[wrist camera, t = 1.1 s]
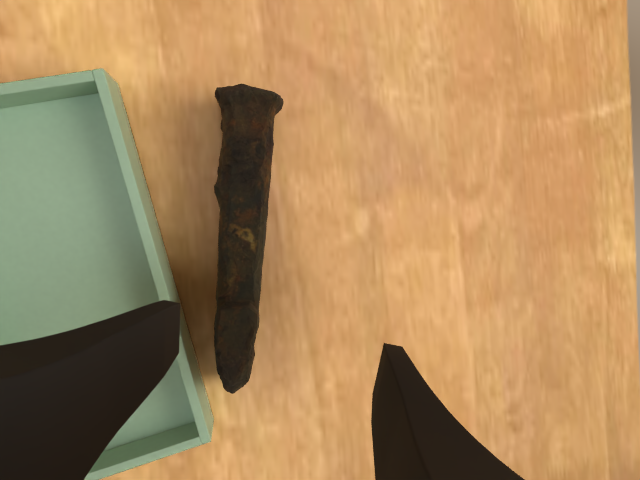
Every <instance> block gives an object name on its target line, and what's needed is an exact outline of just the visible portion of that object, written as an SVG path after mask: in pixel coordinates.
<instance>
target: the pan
mask: <svg viewBox="0 0 640 480" xmlns="http://www.w3.org/2000/svg"><path fill="white" fill-rule="evenodd" d="M162 300H167V301H172V302H178V303H181V302H180V299H179V295H178V292H177V288H176V285H175V281H174V278H173V274H172V271H171V267H170V264H169V260H168V257H167V253H166V250H165V246H164V243H163V239H162V236H161V232H160V229H159V225H158V222H157V218H156V215H155V211H154V208H153V204H152V201H151V197H150V194H149V190H148V187H147V183H146V180H145V176H144V173H143V169H142V166H141V162H140V159H139V155H138V152H137V148H136V145H135V141H134V138H133V134H132V131H131V127H130V124H129V120H128V117H127V113H126V110H125V106H124V103H123V99H122V96H121V92H120V89H119V85H118V83H117V82H116V81H115V80H114V79H113V78H112V77H111V76H110V75H109V74H108V73H107V72H106V71H105V70H104V69H103V68H102V69H95V70H92V71H91V70H89V71H82V72H75V73H69V74H62V75H55V76H48V77H41V78H34V79H28V80H21V81H14V82H7V83H0V345H5V344H11V343H16V342H22V341H27V340H32V339H37V338H41V337H45V336H50V335H54V334H58V333H62V332H66V331H69V330H73V329H76V328H79V327H83V326H86V325H89V324H92V323H95V322H99V321H102V320H105V319H108V318H111V317H114V316H117V315H119V314H122V313H125V312H128V311H131V310H134V309H137V308H139V307H142V306H145V305H148V304H151V303H154V302H158V301H162ZM213 422H214V418H213V414H212V411H211V407H210V404H209V400H208V397H207V393H206V390H205V386H204V383H203V379H202V376H201V372H200V369H199V365H198V362H197V358H196V355H195V351H194V348H193V344H192V341H191V337H190V334H189V330H188V327H187V323H186V320H185V316H184V313H183V309H182V306H180V339H179V354H178V355H177V357H176V359H175V360H174V362H173V364H172V365H171V367H170V368H169V370H168V371H167V373H166V374H165V376H164V377H163V379H162V380H161V381H160V382H159V384H158V385H157V386H156V387H155V388H154V390H153V391H152V392H151V393H150V394H149V396H148V397H147V398H146V399H145V400H144V401H143V403H142V404H141V405H140V406H139V407H138V409H137V410H136V411H135V412H134V413H133V414H132V416H131V417H130V418H129V419H128V420H127V421H126V423H125V424H124V425H123V426H122V427H121V429H120V430H119V431H118V432H117V433H116V435H115V436H114V437H113V439H112V440H111V441H110V442H109V444H108V445H107V447H106V448H105V450H104V451H103V452H102V454H101V455H100V457H99V458H98V460H97V461H96V462H95V464H94V465H93V467H92V468H91V470H90V471H89V473H88V474H87V476H86V477H85V479H84V480H99V479H102V478H105V477H108V476H111V475H114V474H117V473H120V472H123V471H126V470H128V469H131V468H134V467H137V466H140V465H143V464H146V463H149V462H152V461H155V460H158V459H161V458H164V457H167V456H170V455H173V454H176V453H179V452H182V451H185V450H188V449H190V448H193V447H196V446H199V445H201V444H205V443H208V442H211V437H212V430H213Z"/></svg>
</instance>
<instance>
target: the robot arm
mask: <svg viewBox="0 0 640 480" xmlns="http://www.w3.org/2000/svg"><path fill="white" fill-rule="evenodd" d="M180 306H181V303H178V302H172V301H167V300H162V301H158V302H154V303H151V304H148V305H145V306H142V307H139V308H137V309H134V310H131V311H128V312H125V313H122V314H119V315H117V316H114V317H111V318H108V319H105V320H102V321H99V322H95V323H92V324H89V325H86V326H83V327H79V328H76V329H73V330H69V331H66V332H62V333H58V334H54V335H50V336H45V337H41V338H37V339H32V340H27V341H22V342H16V343H11V344H5V345H0V480H84V479H85V477H86V476H87V474H88V473H89V471H90V470H91V468H92V467H93V465H94V464H95V462H96V461H97V460H98V458H99V457H100V455H101V454H102V452H103V451H104V450H105V448H106V447H107V445H108V444H109V442H110V441H111V440H112V439H113V437H114V436H115V435H116V433H117V432H118V431H119V430H120V429H121V427H122V426H123V425H124V424H125V423H126V421H127V420H128V419H129V418H130V417H131V416H132V414H133V413H134V412H135V411H136V410H137V409H138V407H139V406H140V405H141V404H142V403H143V401H144V400H145V399H146V398H147V397H148V396H149V394H150V393H151V392H152V391H153V390H154V388H155V387H156V386H157V385H158V384H159V382H160V381H161V380H162V379H163V377H164V376H165V374H166V373H167V371H168V370H169V368H170V367H171V365H172V364H173V362H174V360H175V359H176V357H177V355H178V354H179V339H180ZM371 423H372V438H373V452H374V465H375V479H376V480H524V479H523V478H522V477H520V476H519V475H518V474H516V473H515V472H514V471H512V470H511V469H510V468H509V467H507V466H506V465H505V464H504V463H502V462H501V461H500V460H499V459H498V458H496V457H495V456H494V455H493V454H492V453H491V452H490V451H488V450H487V449H486V448H485V447H484V446H483V445H482V444H481V443H479V442H478V441H477V440H476V439H475V438H474V437H473V436H472V435H471V434H470V433H469V432H468V431H467V430H466V429H465V428H464V427H463V426H462V425H461V424H460V423H459V422H458V421H457V420H456V419H455V418H454V417H453V415H452V414H451V413H450V412H449V411H448V410H447V409H446V407H445V406H444V405H443V404H442V403H441V401H440V400H439V399H438V398H437V396H436V395H435V394H434V393H433V391H432V390H431V389H430V387H429V386H428V385H427V383H426V382H425V380H424V379H423V378H422V376H421V375H420V373H419V372H418V370H417V369H416V367H415V366H414V364H413V363H412V361H411V359H410V358H409V356H408V355H407V353H406V352H405V350H404V349H403V347H401V346H396V345H391V344H386V343H384V345H383V350H382V354H381V359H380V363H379V368H378V372H377V377H376V381H375V386H374V390H373V399H372V420H371Z"/></svg>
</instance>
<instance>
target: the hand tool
mask: <svg viewBox="0 0 640 480" xmlns="http://www.w3.org/2000/svg"><path fill="white" fill-rule="evenodd" d="M215 97H216V99H217V101H218V103H219V105H220V107H221V114H222V121H221V130H222V132H223V140H222V148H221V154H220V159H219V167H218V179H217V182H216V184H215V186H214V190H215V194H216V197H217V200H218V204H219V207H220V220H219V239H218V280H217V289H216V301H217V311H216V316H215V323H214V326H215V327H214V330H215V335H214V343H215V354H216V364H217V372H218V374H219V375H220V379H221V380H222V383H223V387H224V389H225V390H226V391H227V392H230V393H235V392H236V391H237V390H239V389H240V388H241V387H243V386H244V385H245V384H246V383H247V382H248V381H249V378H250V374H251V369H252V364H253V360H254V356H255V351H254V343H255V339H256V333H257V330H258V327H259V301H260V291H261V278H262V264H263V257H264V246H265V238H266V222H267V216H268V198H269V188H270V179H271V163H272V153H273V145H274V143H273V125H274V116H275V115H276V114H277V113H278V112H279V111H280V110H281V109H282V106H283V99H282V98H281V96H280V95H278V94H276V93H275V92H272V91H268V90H264V89H260V88H255V87H251V86H248V85H245V84H238V85H235V86H227V87H222V88H217V89H216V91H215Z"/></svg>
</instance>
